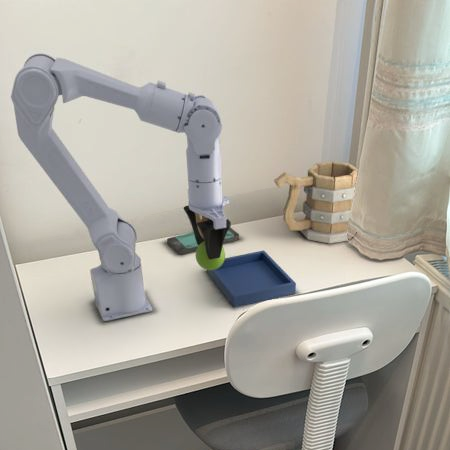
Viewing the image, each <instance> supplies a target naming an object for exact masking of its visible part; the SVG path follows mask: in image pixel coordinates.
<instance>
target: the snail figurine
mask: <svg viewBox="0 0 450 450" xmlns="http://www.w3.org/2000/svg"><path fill="white" fill-rule="evenodd" d="M195 215H196V222H197V223H198V222H203V221H208V218H206V217H203V218H202V215H200V214H198V213H195ZM197 227H198V226H197ZM198 230H199V233H200V235H201V236H202V237H203V235H202V233H201V231H200V229H199V227H198ZM225 258H226V251H225V248H224V247H223V246H222V251H221V255H220V258H216V259H211V260H210V259H209V258H208V256H207V253H206V248H205V242H202V243H201V244H200V245H199V246H198V248H197V250H196V251H195V260H196V262H197V264H198V266H199V267H201V268H202V269H204V270H206V271H207V270H215V269H217V268H219V267H220V266H221V265H222V264H223V262H224V260H225Z"/></svg>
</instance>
